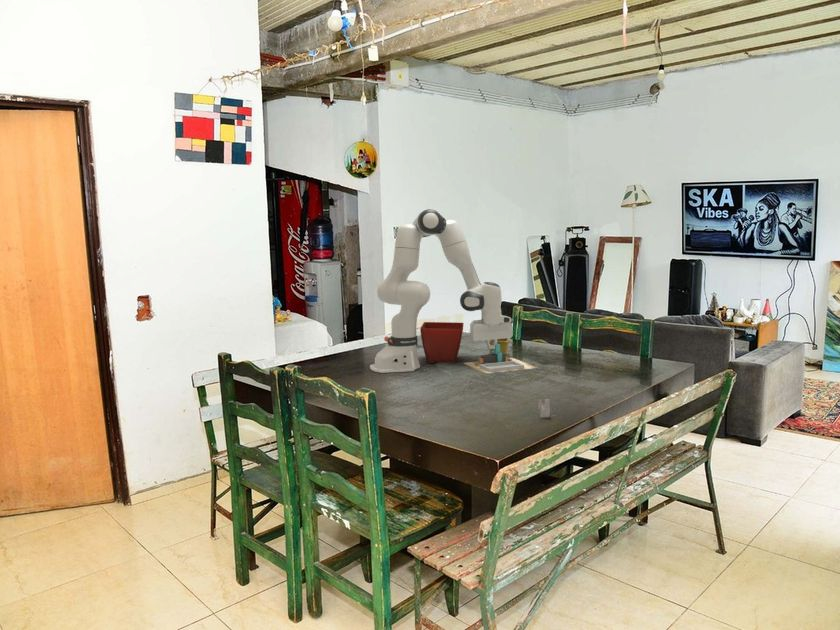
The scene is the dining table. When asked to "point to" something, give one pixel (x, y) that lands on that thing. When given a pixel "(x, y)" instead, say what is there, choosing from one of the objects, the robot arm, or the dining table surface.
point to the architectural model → (546, 410)
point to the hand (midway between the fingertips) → (491, 349)
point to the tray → (501, 366)
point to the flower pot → (501, 345)
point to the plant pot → (441, 340)
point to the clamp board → (477, 366)
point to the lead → (491, 358)
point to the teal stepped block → (497, 352)
